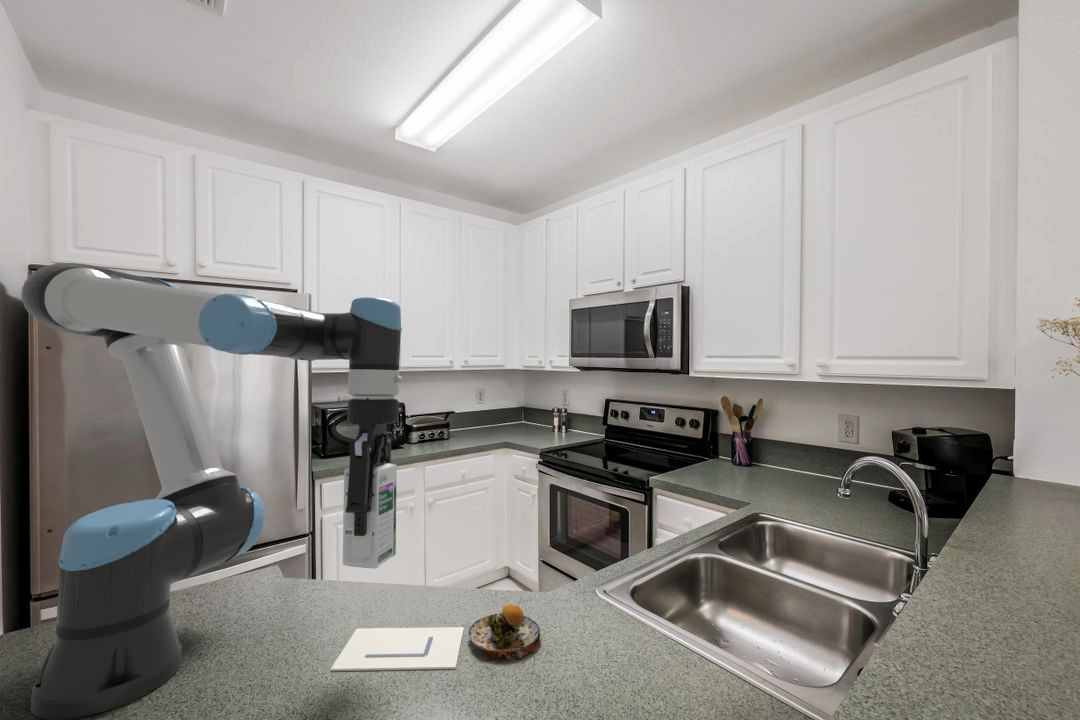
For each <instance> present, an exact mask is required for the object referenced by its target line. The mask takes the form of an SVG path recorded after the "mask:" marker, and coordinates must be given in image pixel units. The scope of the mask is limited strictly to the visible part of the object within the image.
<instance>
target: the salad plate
mask: <svg viewBox="0 0 1080 720" xmlns="http://www.w3.org/2000/svg"><path fill="white" fill-rule="evenodd" d="M522 598H523V596H521V597H520V599H519V602H518V604H520V602H521V601H522ZM518 604H514V603H509V602H508V603H504V604H503V605H502V608H501V609H502V610H501V611H502V612H499V613H495V614H490V615H488V616H485V617H482V618H480V619H478V620H476V621H474V622H473V624H472V625H471V626H470V628H469V630H468V635H469V638H470V641H471V643H472V644H473V645H474V647H475V648H477V649H480V650H482V651H483V652H484V655H485V660H486V661H487V660H489V661H491V662H495V661H498V662H500V657H502V655H504V656H505V657H506V659H507V660H509V661H511V662H515V661H517V659H519V660H521V659H522V658H523V656H527V655H528V653H533V654H534V653H535V651H537V649H538V647H539V646H540V645H541V644H540V643H541V633H540V632H541V628H540V626H539V625H538V623H537V622H536V621H534V620H533V619H531V617H528V616H526V615H525V613H524V612H523V610H522V608H521V607H520V606H519V605H518Z"/></svg>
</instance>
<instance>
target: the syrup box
mask: <svg viewBox="0 0 1080 720" xmlns="http://www.w3.org/2000/svg"><path fill="white" fill-rule="evenodd" d="M397 470H398V469H397V464H396V463H392V462H391V463H379V465H377V466H376V468H375V469H374V471H373V494H372V502H371V510H370V511H373V531H372V556H371V557H355V558H351V548H352V518H353V513H346V508H347V497H348V482H349V468H345V469H344V471H343V474H344V475H343V476H344V477H343V479H344V480H343V521H342V523H343V524H342V527H343V529H342V565H343V566H346V567H350V568H351V567H353V568H362V569H375V570H376V569H378V568H379V566H381V565H382V564H384V563H385V562H387V561H388V560H390V559H391V558H393V557H394V556H395V555H396V554H397V551H396V550H397V548H396V546H397V544H396V543H397V475H398V471H397ZM358 503H360V502H358Z"/></svg>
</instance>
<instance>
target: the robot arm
mask: <svg viewBox="0 0 1080 720" xmlns="http://www.w3.org/2000/svg"><path fill="white" fill-rule="evenodd" d="M21 301H22V303H23V306H24V308H25V310H26V311H27V313H28V314H29V315H30V316H31V317H33V318H34V320H36V321H37V322H39V323H40V324H42V325H44V326H46V327H47V328H51V329H52V330H57V331H59V332H63V333H68V334H73V335H82V336H87V337H88V336H89V337H90V336H91V337H98V338H103V339H104V343H105V345H106V350H107V352H108V353H109V356H111V357H112V358H115V359H118V360H120V361H122V362H123V365H124V368H125V371H126V374H127V377H128V381H129V384H130V388H131V390H132V394H133V398H134V400H135V404H136V407H137V410H138V413H139V416H140V420H141V423H142V427H143V429H144V433H145V436H146V440H147V443H148V445H149V449H150V453H151V455H152V459H153V462H154V466H155V469H156V471H157V476H158V479H159V482H160V486H161V490H160V492H159V494H158V495H157V497H156V498H153V499H152V498H151V499H141V500H135V501H132V502H124V503H120V504H119V503H118V504H115V505H111V506H109V507H105V508H102V509H99V510H97V511H94V512H91V513H88V514H87V515H85V516H82V517H81V518H79V519H77V520H76V521H74V522H73V523H72V524H71V525H70V526H69V527H68V529H67V530H66V531H65V532H64V534H63V540H62V545H61V548H60V554H59V556H58V567H59V577H58V590H57V591H58V593H57V594H58V595H57V606H56V607H57V611H56V625H55V626H56V627H55V636H54V640H53V643H52V645H51V648H50V649H49V651H48V654H47V656H46V658H45V661H44V662H43V665H42V667H41V670H40V672H39V673H38V674H39V675H38V676H37V678H36V680H35V682H34V684H33V687H32V689H31V697H30V712H31V714H33V716H36V717H37V718H39V719H40V718H41V719H44V720H73V719H78V718H83V717H84V718H85V717H88V716H89V717H90V716H92V715H96V714H97V715H98V714H100V713H103V712H107V711H109V710H110V711H111V710H112V709H116V708H118V707H121V706H123V705H126V704H127V703H132V702H134V701H135V700H137V699H139V698H141V697H143V696H145V695H147V694H149V693H150V692H152V691H154V690H155V689H157V688H158V687H160V686H162V685H163V684H165V683H166V682H168V680H170V679H171V678H172V677H173V676H174V675H175V674H176V672H178V670H179V668H180V666H181V664H182V653H183V646H182V641H181V640H180V638H179V637H178V633H177V630H176V629H177V628H176V627H175V624H174V620H173V618H172V616H171V613H170V599H171V588H172V586H171V585H173V584H175V583H178V582H179V581H182V580H184V579H187V578H190V577H192V576H194V575H196V574H198V573H202V572H204V571H206V570H208V569H211V568H213V567H215V566H218V565H221V564H222V565H223V564H226V563H228V562H229V561H232V560H233V559H234V558H236V557H238V556H240V555H242V554H243V553H246V552H247V551H248V550H250V549H251V548H252V547H253V546H254V545H255V543H257V541H258V539H259V538H260V533H261V532H262V531H263V528H264V525H265V524H264V523H265V518H266V517H265V514H266V513H265V508H264V507H265V506H264V504H263V503H264V502H263V501H262V499H261V497H260V495H259V494H258V493H257V492H256V491H253V490H252V489H251V488H249V487H243V486H240V483H239V481H238V478H237V475H236V473H235V472H231V471H228V470H226V469H224V468H223V465H222V463H221V460H220V456H219V453H218V449H217V447H216V445H215V441H214V438H213V435H212V432H211V428H210V425H209V423H208V420H207V417H206V414H205V413H206V412H205V410H204V408H203V403H202V402H201V398H200V396H199V392H198V389H197V387H196V383H195V380H194V377H193V375H192V371H191V368H190V365H189V362H188V359H187V356H186V353H185V350H186V347H188V345H189V344H193V345H198V346H204V347H209V348H212V349H214V350H216V351H220V352H225V353H229V354H233V355H241V356H242V355H245V356H246V355H256V356H271V357H272V356H273V357H281V358H288V359H291V360H299V361H308V362H313V361H319V360H320V361H321V360H322V361H327V360H328V361H329V360H333V361H334V360H346V361H347V360H348V362H349V363H348V364H349V365H348V381H347V382H348V384H347V385H348V386H347V394H348V395H349V396H351V398H350V399H349V401H347V417H346V418H347V419H346V420H347V422H348V423H349V424H351V425H358V426H359V428H358V432H357V436H356V437H355V440H350V441H349V445H348V446H349V468H348V469H349V482H348V497H347V508H346V513H353V518H352V548H351V558H355V557H371V556H372V531H373V511H370V510H371V502H372V494H373V471H374V469H375V468H376V466H377V465H379V463H391V464H392V441H393V440H392V439H393V433H392V431H387V425H389V424H395V423H397V422H398V421H399V418H400V417H399V415H400V414H399V413H400V411H399V407H400V401H399V400H398V399H396V398H395V397H396V396H398V395H399V394H400V383H402V382H403V381H404V378H403V377H402V376H400V360H401V359H400V356H401V337H402V335H401V334H402V333H401V332H402V331H403V328H402V318H401V317H402V316H401V307H400V305H399V303H398V302H396V301H394V300H393V299H387V298H383V297H373V296H371V297H370V296H369V297H368V296H367V297H363V296H362V297H359V298H354V299H353V300H352V301H351V306H350V308H349V312H341V313H337V312H336V313H332V312H331V313H329V312H328V313H326V312H325V313H323V312H317V311H312V310H309V309H303V308H298V307H294V306H290V305H285V304H280V303H277V302H273V301H272V302H271V301H268V300H264V299H259V298H256V297H255V296H250V295H246V294H239V293H238V294H235V293H234V294H233V293H216V292H209V291H201V290H195V289H189V288H183V287H181V286H178V285H176V284H174V283H171V282H166V281H165V280H162V279H160V278H157V277H156V278H155V277H144V276H139V275H135V274H131V273H126V272H122V271H117V270H114V269H109V268H104V267H99V266H97V265H91V264H85V263H77V262H59V263H54V264H49V265H45V266H43V267H41V268H39V269H36V270H35V271H34V272H32V273H31V274H30V275H29V276H28V277H27V278H26V279H25V280H24V283H23V285H22V288H21ZM358 502H360V503H358Z"/></svg>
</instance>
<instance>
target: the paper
mask: <svg viewBox="0 0 1080 720" xmlns="http://www.w3.org/2000/svg"><path fill="white" fill-rule="evenodd" d="M464 630H465V627H464V626H463V627H462V626H461V627H459V626H456V627H446V626H445V627H379V628H378V627H376V628H374V627H372V628H368V627H367V628H364V627H362V628H356V629H355V631H354V632H353V634H352V635H351V637H350V638H349V639H348V641H347V642H346V645H344V648H343V649H342V651H341V652H340V654H339V655H338V656H337V658H336V660H335V662H333V665H332V666H331V667H330V672H342V671H343V672H344V671H345V672H348V671H349V672H353V671H354V672H355V671H358V672H359V671H360V672H361V671H404V670H405V671H407V670H408V671H409V670H410V671H412V670H415V671H416V670H417V671H419V670H456V668H457V665H458V664H457V663H458V659H459V656H460V655H459V654H460V649H461V645H462V641H463V635H464Z"/></svg>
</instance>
